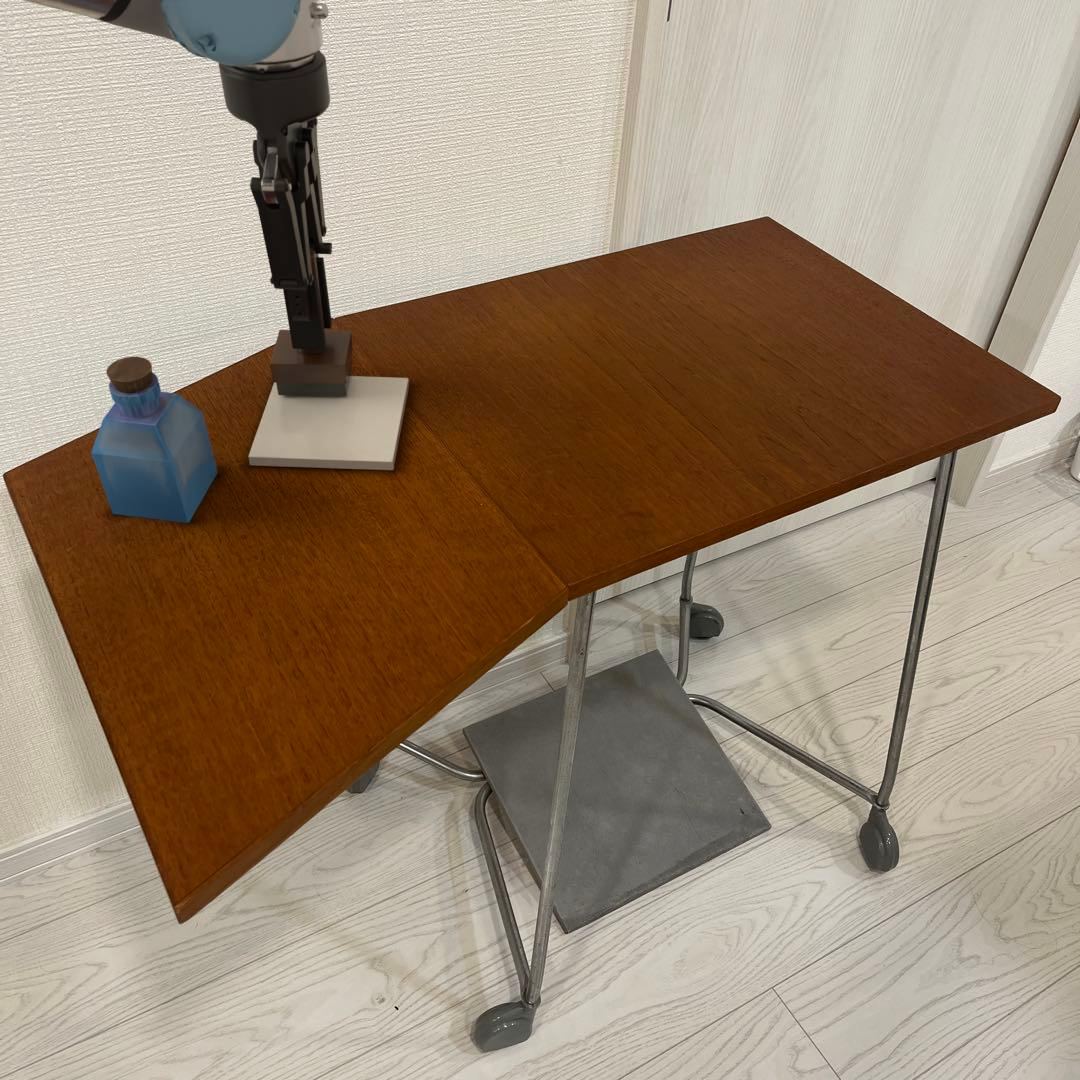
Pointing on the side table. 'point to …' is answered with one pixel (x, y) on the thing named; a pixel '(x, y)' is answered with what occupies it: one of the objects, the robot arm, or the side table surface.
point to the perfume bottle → (151, 447)
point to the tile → (334, 427)
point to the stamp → (313, 361)
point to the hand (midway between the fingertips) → (312, 335)
